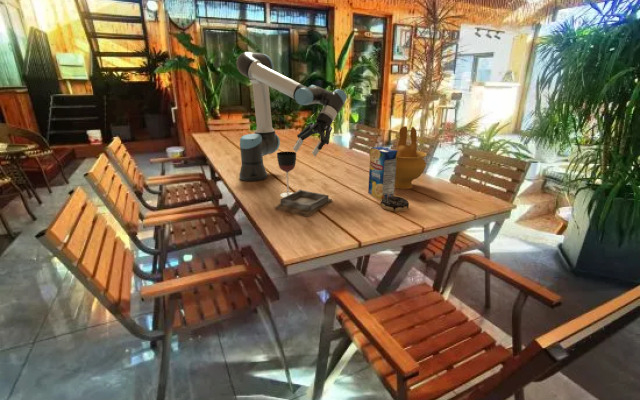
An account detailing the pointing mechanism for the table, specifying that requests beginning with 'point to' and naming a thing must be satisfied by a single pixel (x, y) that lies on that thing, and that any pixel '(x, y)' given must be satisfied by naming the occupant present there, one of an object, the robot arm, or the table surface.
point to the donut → (394, 204)
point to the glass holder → (303, 202)
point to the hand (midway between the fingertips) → (303, 152)
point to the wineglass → (286, 165)
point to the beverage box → (382, 172)
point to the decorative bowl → (408, 160)
